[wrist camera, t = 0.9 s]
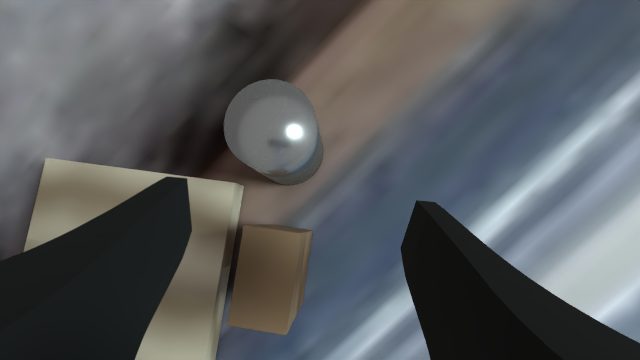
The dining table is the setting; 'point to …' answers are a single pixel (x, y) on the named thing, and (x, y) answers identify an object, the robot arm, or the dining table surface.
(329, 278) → the dining table surface
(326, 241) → the dining table surface
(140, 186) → the slot board
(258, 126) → the metal round peg
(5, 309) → the robot arm
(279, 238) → the walnut flat peg
